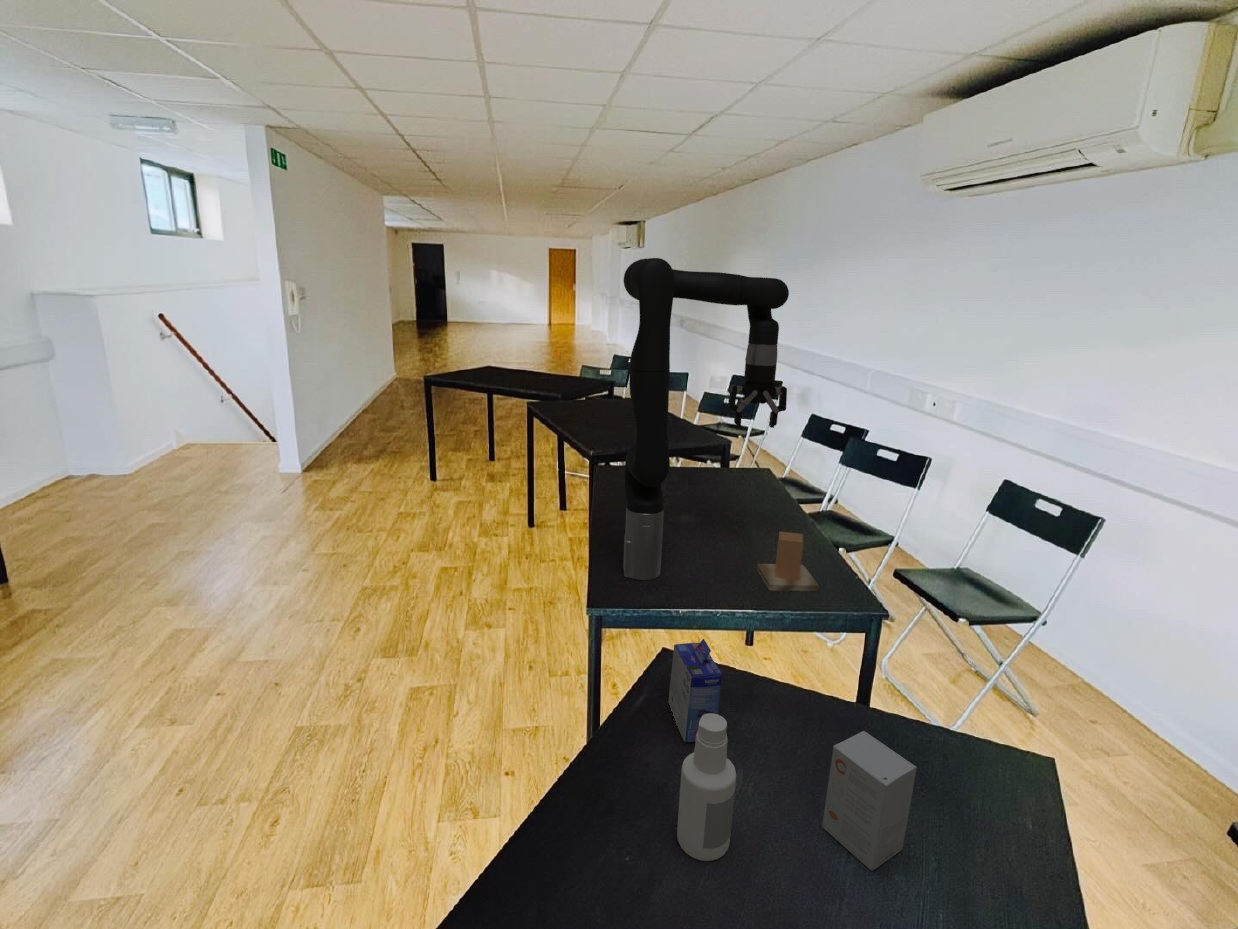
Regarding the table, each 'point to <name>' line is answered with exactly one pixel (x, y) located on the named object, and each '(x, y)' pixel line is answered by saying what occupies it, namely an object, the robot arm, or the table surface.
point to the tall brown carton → (789, 555)
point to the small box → (868, 799)
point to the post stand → (787, 580)
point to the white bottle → (707, 793)
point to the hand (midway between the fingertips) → (755, 426)
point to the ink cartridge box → (693, 687)
